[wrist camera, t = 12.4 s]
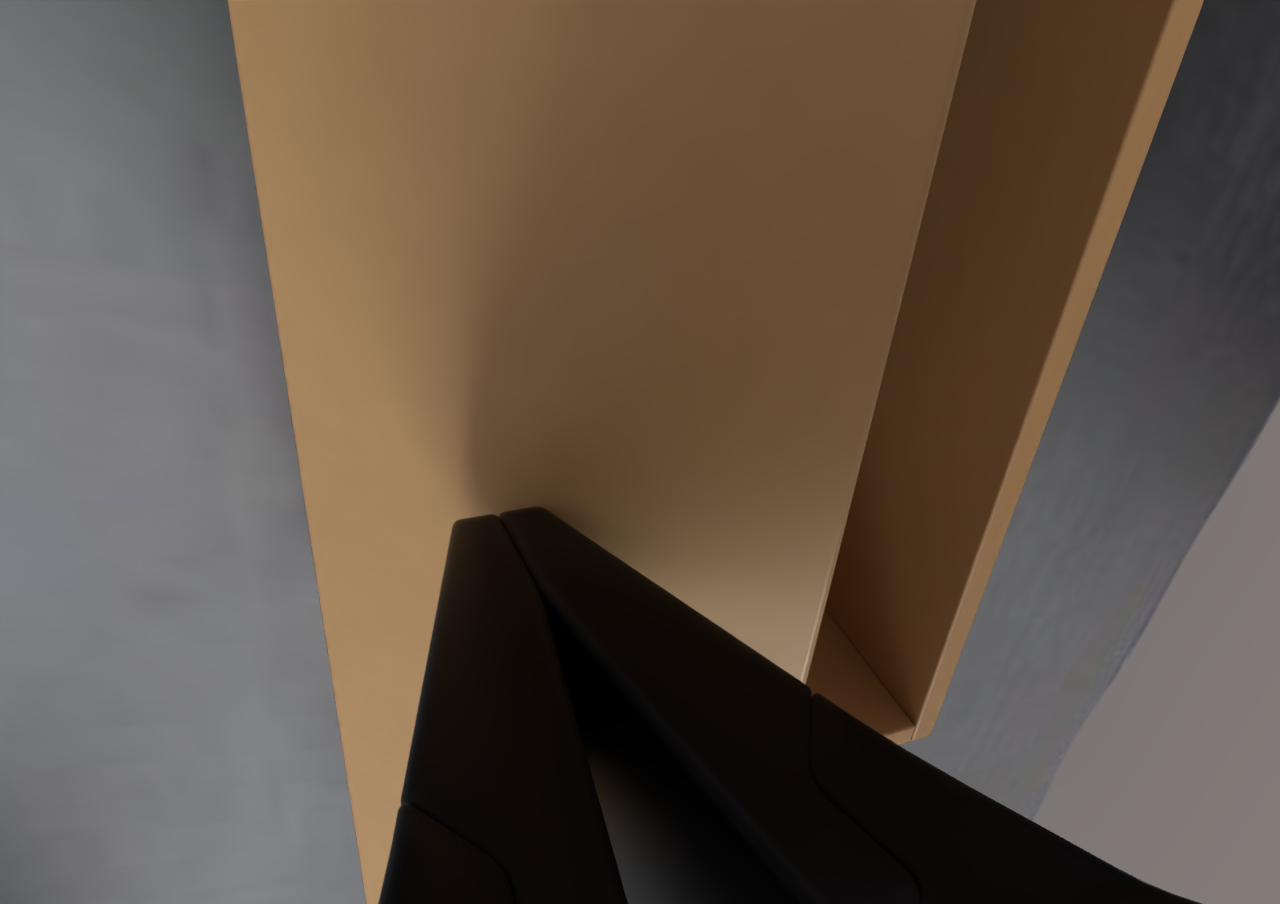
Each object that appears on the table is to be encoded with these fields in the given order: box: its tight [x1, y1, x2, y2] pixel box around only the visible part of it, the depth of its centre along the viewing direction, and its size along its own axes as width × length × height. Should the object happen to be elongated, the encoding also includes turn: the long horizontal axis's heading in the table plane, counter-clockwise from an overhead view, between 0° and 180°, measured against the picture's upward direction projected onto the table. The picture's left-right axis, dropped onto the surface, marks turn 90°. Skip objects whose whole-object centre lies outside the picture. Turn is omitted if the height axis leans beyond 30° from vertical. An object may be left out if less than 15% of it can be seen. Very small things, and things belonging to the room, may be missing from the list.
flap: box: [227, 0, 976, 904], centre depth 9 cm, size 18×5×1 cm
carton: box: [806, 0, 1204, 745], centre depth 15 cm, size 18×11×8 cm, turn 175°
